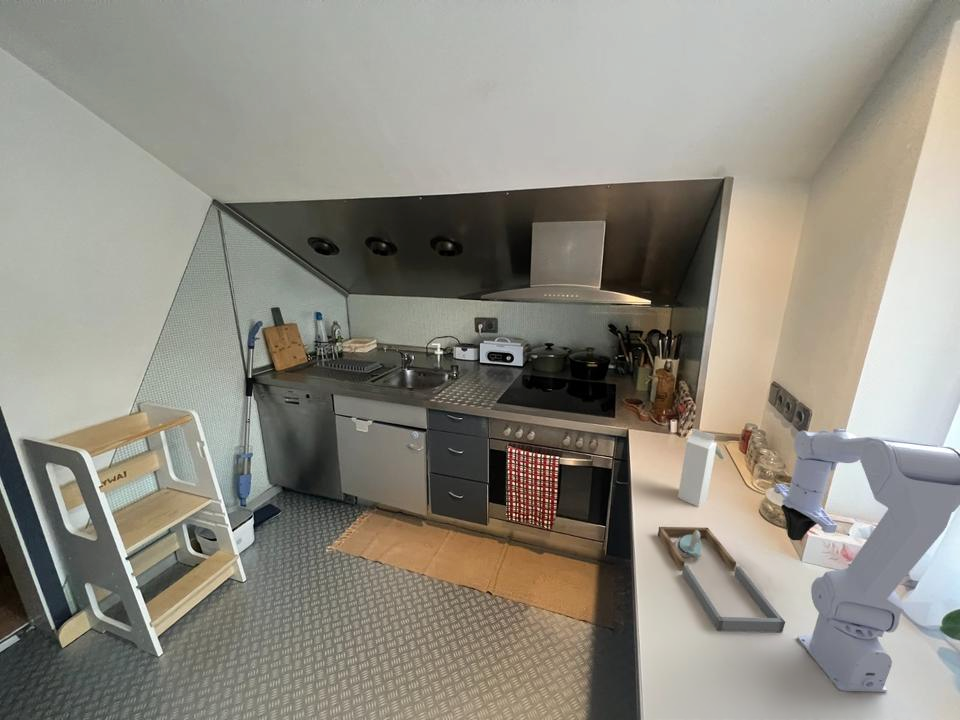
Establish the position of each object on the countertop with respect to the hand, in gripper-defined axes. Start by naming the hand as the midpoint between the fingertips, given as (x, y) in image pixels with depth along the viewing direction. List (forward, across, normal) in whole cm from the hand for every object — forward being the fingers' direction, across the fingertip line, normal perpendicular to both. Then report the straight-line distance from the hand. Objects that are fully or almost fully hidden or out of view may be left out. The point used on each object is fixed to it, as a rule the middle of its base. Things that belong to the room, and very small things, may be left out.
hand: (794, 538), depth 87 cm
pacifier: (+10, -7, -19) cm, 23 cm away
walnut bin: (+9, -6, -18) cm, 21 cm away
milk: (+10, -28, -7) cm, 30 cm away
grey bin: (+9, +8, -18) cm, 22 cm away
